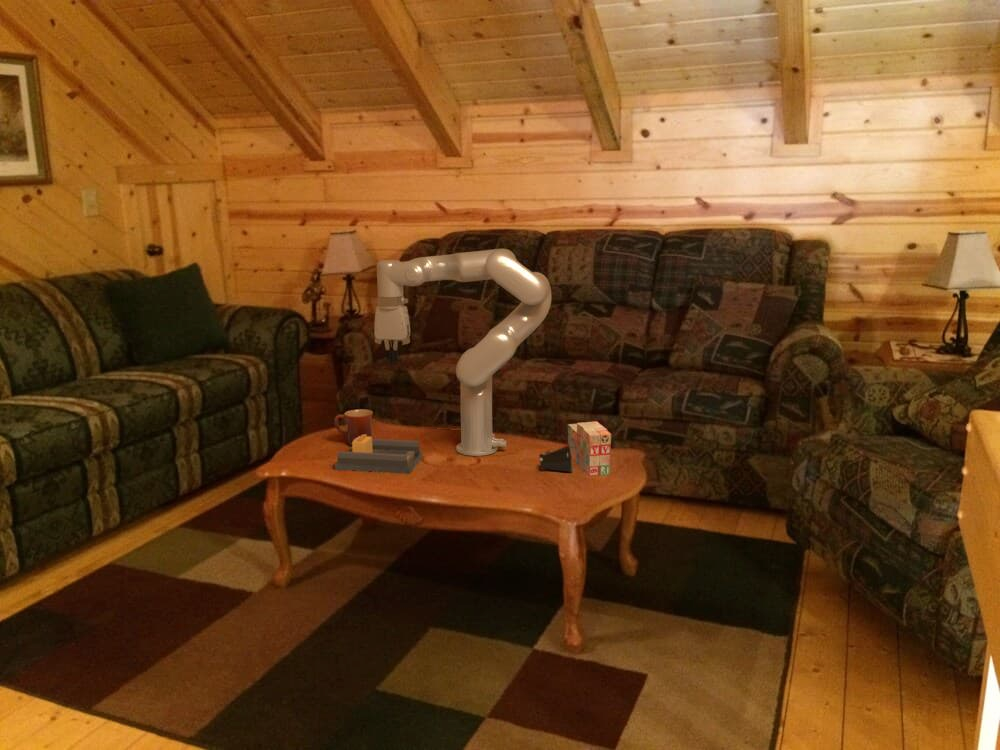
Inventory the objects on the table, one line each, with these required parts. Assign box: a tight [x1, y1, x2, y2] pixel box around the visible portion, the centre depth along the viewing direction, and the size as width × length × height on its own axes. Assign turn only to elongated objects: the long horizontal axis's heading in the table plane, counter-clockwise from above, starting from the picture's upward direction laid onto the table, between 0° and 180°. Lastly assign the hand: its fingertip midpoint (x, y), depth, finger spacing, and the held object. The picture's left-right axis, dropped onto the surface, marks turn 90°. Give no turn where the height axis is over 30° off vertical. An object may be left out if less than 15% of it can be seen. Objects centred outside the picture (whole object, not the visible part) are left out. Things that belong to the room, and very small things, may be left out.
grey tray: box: [337, 438, 420, 467], centre depth 247 cm, size 20×15×3 cm
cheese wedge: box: [351, 434, 373, 453], centre depth 247 cm, size 4×6×6 cm, turn 170°
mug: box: [334, 408, 374, 446], centre depth 265 cm, size 12×9×10 cm
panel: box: [334, 447, 423, 475], centre depth 247 cm, size 22×14×3 cm, turn 80°
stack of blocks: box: [567, 421, 612, 477], centre depth 246 cm, size 21×6×12 cm, turn 12°
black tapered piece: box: [539, 445, 573, 473], centre depth 246 cm, size 8×18×8 cm
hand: (393, 362), depth 256 cm, fingers closed
